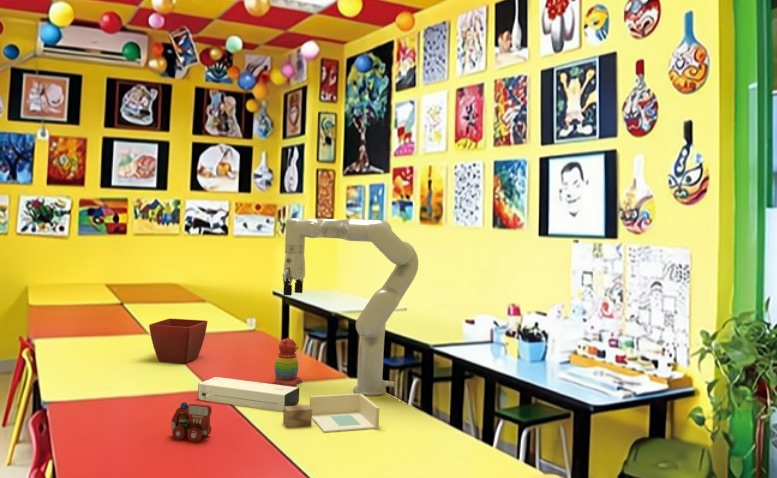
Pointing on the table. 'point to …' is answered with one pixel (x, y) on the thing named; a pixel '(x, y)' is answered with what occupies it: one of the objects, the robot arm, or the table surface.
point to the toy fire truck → (191, 421)
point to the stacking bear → (287, 364)
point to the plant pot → (178, 339)
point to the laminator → (248, 393)
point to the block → (297, 416)
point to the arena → (344, 412)
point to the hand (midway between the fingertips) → (293, 294)
